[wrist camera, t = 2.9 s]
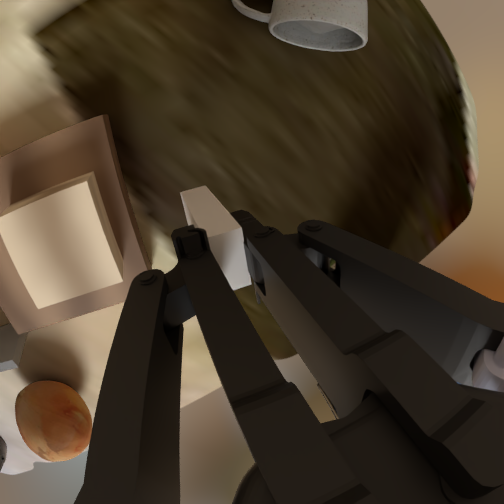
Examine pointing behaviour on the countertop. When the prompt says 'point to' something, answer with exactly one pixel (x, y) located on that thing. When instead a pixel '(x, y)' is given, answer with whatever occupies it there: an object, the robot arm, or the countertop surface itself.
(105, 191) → the walnut platform
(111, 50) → the countertop surface
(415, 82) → the countertop surface
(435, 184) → the countertop surface
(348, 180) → the countertop surface
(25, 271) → the birch tile
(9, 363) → the box
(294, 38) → the ceramic mug
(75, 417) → the onion
